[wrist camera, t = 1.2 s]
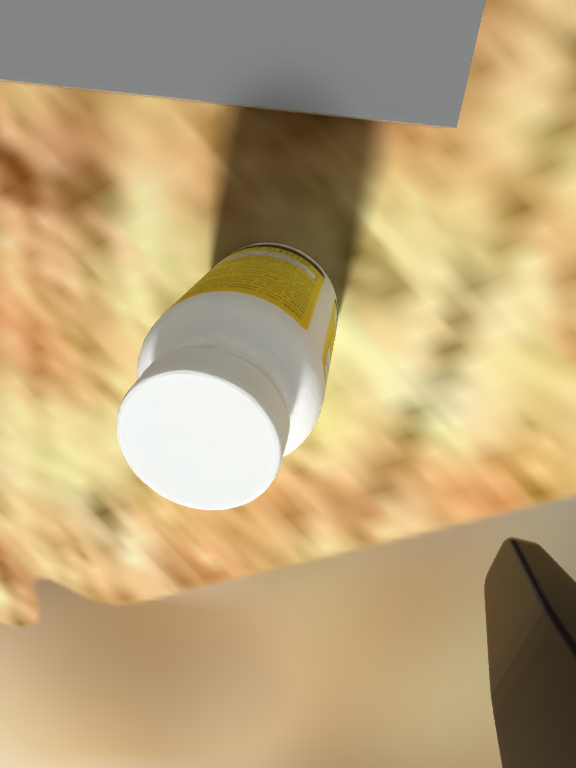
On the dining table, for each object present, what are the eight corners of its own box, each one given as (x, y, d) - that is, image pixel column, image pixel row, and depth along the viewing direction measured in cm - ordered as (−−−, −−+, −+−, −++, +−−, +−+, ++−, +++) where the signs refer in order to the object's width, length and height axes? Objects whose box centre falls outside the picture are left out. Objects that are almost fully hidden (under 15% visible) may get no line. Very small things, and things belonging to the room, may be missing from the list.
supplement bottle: (182, 272, 20) (40, 382, 11) (306, 216, 18) (249, 295, 10) (242, 385, 22) (160, 552, 13) (359, 344, 20) (351, 505, 12)
